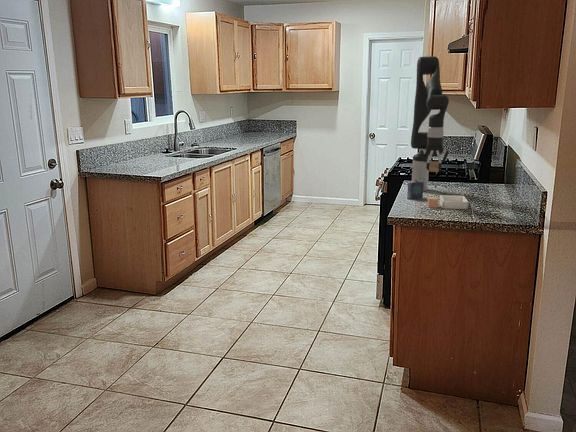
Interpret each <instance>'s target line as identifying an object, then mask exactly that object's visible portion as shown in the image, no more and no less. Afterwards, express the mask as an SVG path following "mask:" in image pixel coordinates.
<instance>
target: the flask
mask: <svg viewBox="0 0 576 432" xmlns="http://www.w3.org/2000/svg"><path fill="white" fill-rule="evenodd" d="M423 183H424V182H422V181H417V179H416V178H415V179H414V182H412V181H409V182H408V183H407V197H406V198H407V200H417V199H423V196H424V195H423V194H424V191H423Z"/></svg>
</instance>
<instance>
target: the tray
mask: <svg viewBox="0 0 576 432" xmlns="http://www.w3.org/2000/svg"><path fill="white" fill-rule="evenodd" d="M438 203H439V204H440V206H441V208H442V209H451V210H453V209H454V210H468V209H469V201H468V199H467V198H466V197H465V195H448V194H446V195H443V194H442V195H439V199H438Z"/></svg>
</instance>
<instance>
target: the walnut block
mask: <svg viewBox="0 0 576 432" xmlns="http://www.w3.org/2000/svg"><path fill="white" fill-rule="evenodd" d="M430 172H431V173H432V172H433V173H434V172H435V173H439V172H440V171H439V161H429V173H430Z"/></svg>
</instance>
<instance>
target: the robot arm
mask: <svg viewBox="0 0 576 432" xmlns="http://www.w3.org/2000/svg"><path fill="white" fill-rule="evenodd" d="M424 75H425V76H427V75H431V76H430V78H429V79H428V80H427V82H426V84H425V81H424ZM415 82H416V83H415V85H416V86H415V87H416V88H415V96H414V105H413V124H412V130H411V137H410V147H411V148H412V149H417V150H419V149H420V152H418V153H416V154H414V155H413V156H412V170H411V171H412V172H411V182H414V179H415V178H416V179H417V181H422V182H424V183H423V192H426V191H428V188H429V173H430V172H429V162H431V159H432V158H433V157H435V158H437V160H438V161H437V162H439V171H438V172H440V170H442V163H446V160H447V157H448V155H449V153H450V152H449V150H448V149H444V132H445V131H444V124H445V123H444V120H445V117H446V116H445V114H446V112H447V109H448V106H449V104H450V103H449V102H450V99H449V96H448V95H446V94H443V88H442V83H441V71H440V59H439V58H438V57H437V56H420V57H418V58H417V62H416V81H415ZM434 110H436V111H438V110H439V112H437V113H435V114H431V115H430V113H431V112H432V111H434ZM428 116H429V118H428ZM427 118H428V129H427V132H425V131H420V132H419V130H420V128H421V127H422V124H423V122H425V120H426V119H427ZM442 153H443V157H442V158H441V155H442Z"/></svg>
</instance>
